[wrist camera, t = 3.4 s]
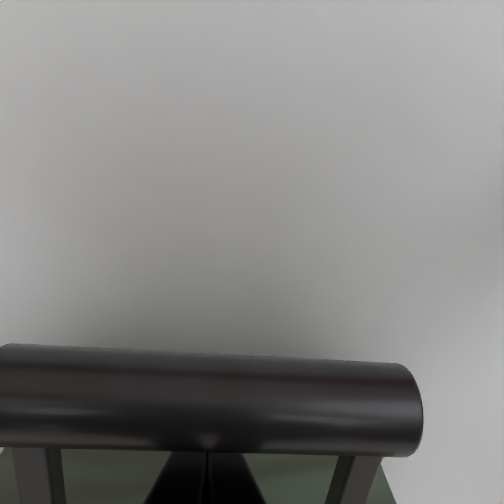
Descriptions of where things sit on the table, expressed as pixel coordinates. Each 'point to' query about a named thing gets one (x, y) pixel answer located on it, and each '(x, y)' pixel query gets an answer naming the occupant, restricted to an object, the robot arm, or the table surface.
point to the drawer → (199, 422)
